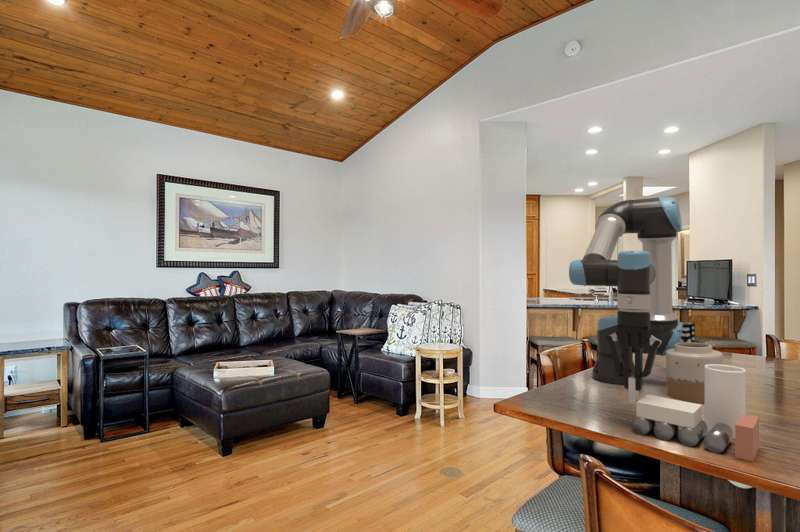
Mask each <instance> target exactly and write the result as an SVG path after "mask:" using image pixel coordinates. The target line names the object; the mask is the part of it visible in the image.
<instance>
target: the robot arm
mask: <svg viewBox="0 0 800 532" xmlns="http://www.w3.org/2000/svg"><path fill="white" fill-rule="evenodd" d="M680 211H681V210H680V206H679V202H678V200H677V199H676V198H675V197H672V196H671V197H670V196H668V197H667V196H666V197H663V196H660V197H651V198H639V199H625V200H621V201H619V202H616V203H615V204H612V205H611V206H609V207H607V208H606V209H604V211H603V212H602V213H601V214H599V216H598V217H597V219H596V222H595V224H594V227H595V228H594V229H595V232H594V234H593V235H592V238H591V241H590V243H589V244H588V245H587V248H586V251H585V253H584V255H583V257H582V259H574V260H572V261H571V262H570V263H569V267H568V268H569V269H568V276H569V281H570V283H571V285H576V286H584V287H586V286H587V287H588V286H590V287H591V286H593V287H596V286H599V287H617V294H616V295H617V297H616V298H617V307H616V308H617V310H618V309H619V310H618V311H617V312H616V313H617V314H616V315H611V316H610V315H609V316H603V317H600V318H599V319H598V321H597V329H596V331H597V333H596V334H597V336H596V337H597V342H596V343H597V357H596V360H595V363H594V366H593V369H592V372H591V373H592V375H591V377H592V379H593V380H596V381H599V382H603V383H607V384H614V385H624V389H626V390H628V395H627V396H628V398H627V400H628V402H627V403H628V404H632V405H633V404H634V405H636V402H637V401H639V396H638V395H639V392H641V390H642V389H643V378H647V377H649V376H650V375H651V373H652V368H653V366H654V362H655V359H656V355H657V356H662V357H666V350H668V349H672V348H675V344H676V343H680V341H681V335H682V327H683V324H682V323H680V322H681V321H678V315H676V313H674V312H673V262H672V261H673V257H672V253H673V251H672V250H673V249H672V245H673V244H672V243H673V241H674V240H675V239H677V236H678V233H679V232H682V230H683V225H682V224H683V223H682V217H681V212H680ZM624 234H636V235H637V236H636V237H637V240H639V242H640V243H642V250H623V251H619V253H618V255H617V259H612V257H613V255H614V253H615V252H614V251H615V249H616V246H617V244H618V241H619V239H620V238H621V237H622V236H623V235H624ZM644 354H646V356H647V357H646V361H645V365H644V366H643V363H644V362H643V358H644V356H643V355H644ZM633 355H634V356H633Z"/></svg>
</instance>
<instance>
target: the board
mask: <svg viewBox="0 0 800 532" xmlns="http://www.w3.org/2000/svg"><path fill="white" fill-rule="evenodd" d="M635 405H636V409H635V411H636V413H635V414H636V417H642V418H647V419H651V420H656V421H661V422H665V423H670V424H674V425H679V426H683V427H688V428H693V429H694V428H695V427H696V426H697V424H698V423H699V422H700V421H701V420H703V404H696V403H690V402H685V401H681V400H677V399H675V398H673V399H672V398H668V397H661V396H657V395H651V394H646V395H645V396H643V397H641V398H640V399H638V401H637V402H636V403H635Z"/></svg>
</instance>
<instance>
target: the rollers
mask: <svg viewBox="0 0 800 532" xmlns="http://www.w3.org/2000/svg"><path fill="white" fill-rule="evenodd" d="M631 429H632V430H633V431H634V432H635V433H636V434H637V435H639V436H644V435H645V436H646V434H648V433H649V432H651V431H652V430H653V433H654V435H655V436H656V437H657V438H658V439H659V440H662V441H669V440H671V439H672V438H673V437H674V436H676V435H677V438H678V440H679V442H680V443H681V444H683V445H684V446H687V447H695V446H696V445H697V444H698V443H699V442H700V441H701V439H702V438H703V444H704V446H705V448H706V449H707V450H708V451H710V452H712V453H715V454H720V453H722V452H724V451H725V449H726V448H727V446H728V445H729V444H730V442H731V441H732V439H733V438H732V437H733V430H732V429H731V428H730V427H729V426H728V425H726V424H724V423H717V424H715V425H714V426H713V428H712V429H711V430H710V431H709V432H707V430H708V427H707V424H706V423H705V422H704V420H703V419H702V420H701V421H700V422H699V423H698V424H697V426H696V427H695V428H694V429H693V428H688V427H684V426H679V425H674V424H670V423H665V422H661V421H656V420H651V419H647V418H642V417H637V416H636V417H635V418H633V419H632V421H631Z"/></svg>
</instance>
